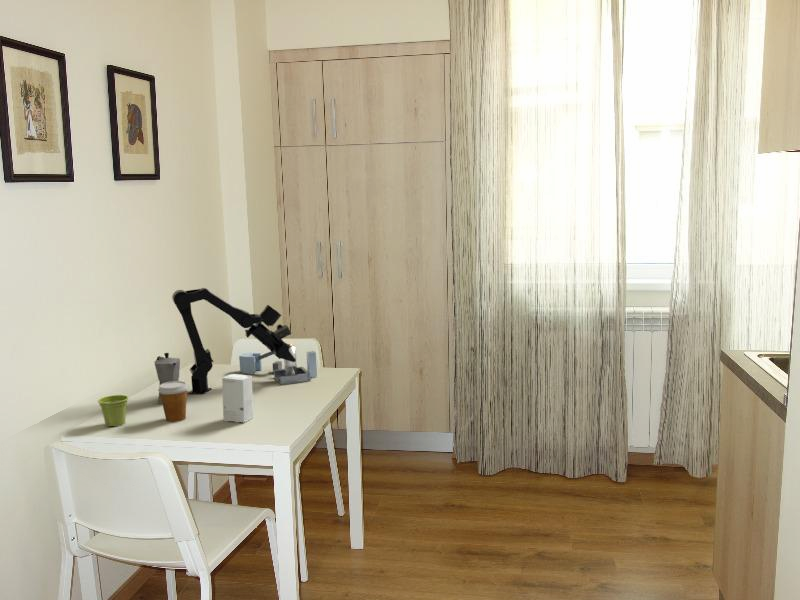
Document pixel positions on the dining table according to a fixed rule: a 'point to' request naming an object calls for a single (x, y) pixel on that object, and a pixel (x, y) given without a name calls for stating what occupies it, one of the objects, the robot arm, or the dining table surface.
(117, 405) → the plant pot
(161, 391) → the disposable coffee cup
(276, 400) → the dining table surface
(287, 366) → the silver metal cylinder
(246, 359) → the lever frame
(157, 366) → the coffeepot
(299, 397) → the dining table surface
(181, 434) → the dining table surface
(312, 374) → the tray
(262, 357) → the lever
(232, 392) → the skincare box
